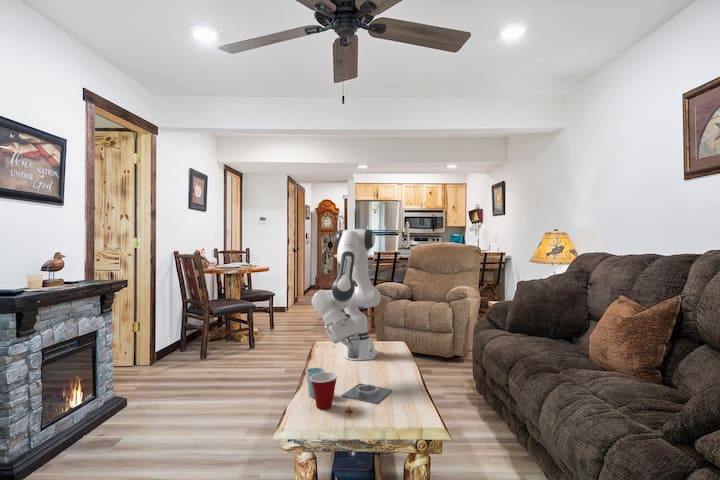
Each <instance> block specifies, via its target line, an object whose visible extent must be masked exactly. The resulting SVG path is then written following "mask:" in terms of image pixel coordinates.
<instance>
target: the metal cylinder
mask: <svg viewBox="0 0 720 480" xmlns="http://www.w3.org/2000/svg"><path fill="white" fill-rule="evenodd" d="M359 339H360V337H359V336H357V335H351V336H349V337H348V342H349V343H352V345H353V347H352V348H350V349H349V348H348V358H351V359H357V358H359Z"/></svg>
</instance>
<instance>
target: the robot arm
mask: <svg viewBox="0 0 720 480" xmlns="http://www.w3.org/2000/svg"><path fill="white" fill-rule="evenodd" d="M333 241H334V246H335V247H336V248H337V252H336V260H337V261H336V262H337V263H338V264H339V270H338V275H337V277H336V278H335V280H334V281H333V283H332V286H331V289H325V290H324V289H318V290H317V291H316V292H315V293H314V294H313V295H312V297H311V305H312V308H314V311H316V313H317V314H318V316H319V317H320V318H322V320H323V322H324V324H325V325H324V329H325V330H326V334H327V336H328V338H329V339H330V341H331V343H333V344H334V345H336V344H339V343H342V344H343V345H344V348H343V349H344V351H343V352H342V356H343V357H344V358H345V359H347V360H352V361H365V360H367V361H368V360H374V358H375V357H376V356H378V354H379V353H380V352H379V350H376V348H375V346H376V345H375V342H374V341H373V340H372V339H371V338H370V335H371V334H372V330H368V326H369V325H368V322H369V321H368V320H369V319H368V317H367V316H366V314H364V312H361V310H360V309H359V307H360V308H362V307H363V308H372V307H376V306H378V305H379V304H380V301H381V292H380V291H379V289H378V288H376V286H374V285H373V283H372V281H371V279H370V276H369V262H368V261H369V257H368V256H369V255H368V252H369V251H370V249H372V248H373V247H374V246H375V244H376V235H375V233H374V231H373V230H371V229H368V228H367V229H362V228H361V229H360V228H353V229H352V228H351V229H340V230H339V229H338V230H337V231H336V232H335V235H334V238H333ZM354 282H355V284H356V285H357V286H355V284H354ZM343 310H344V312H342V311H343ZM351 335H357V336H359V337H360V339H359V358H357V359H351V358H348V348H349V349H350V348H352V347H353V345H352V343H349V342H348V337H349V336H351Z"/></svg>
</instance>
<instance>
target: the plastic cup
mask: <svg viewBox="0 0 720 480" xmlns="http://www.w3.org/2000/svg"><path fill="white" fill-rule="evenodd" d="M338 377H339V376H338V373H336V372H330V371H325V372H322V373H317V374H314V375H312V376H311V377H310V380H311V382H312V385H313V390H314V396H315V398H314V399H315V406H316V408H317V409H318V410H321V411H324V410H330V409H331V408H332V405H333V402H334V401H333V400H334V395H335V390H336V385H337V378H338Z"/></svg>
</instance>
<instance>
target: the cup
mask: <svg viewBox="0 0 720 480" xmlns="http://www.w3.org/2000/svg"><path fill="white" fill-rule="evenodd" d="M305 371H306V379H307V390H308V391H307V392H308V397H309V398H312V399H315V396H314V390H313V385H312V382H311V380H310V377H311V376H312V375H314V374H317V373H322V372H326V370H325V368H322V367H310V368H308V369H306V370H305Z"/></svg>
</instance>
